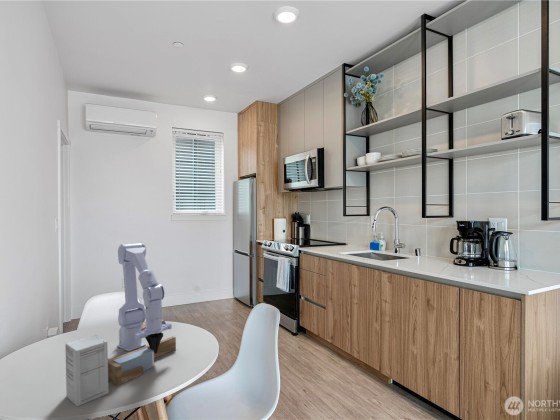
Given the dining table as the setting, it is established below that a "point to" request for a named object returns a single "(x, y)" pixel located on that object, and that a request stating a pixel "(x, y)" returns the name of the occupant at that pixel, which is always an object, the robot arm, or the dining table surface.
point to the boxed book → (136, 360)
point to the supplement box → (86, 369)
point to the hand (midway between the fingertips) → (154, 352)
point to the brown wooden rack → (119, 378)
